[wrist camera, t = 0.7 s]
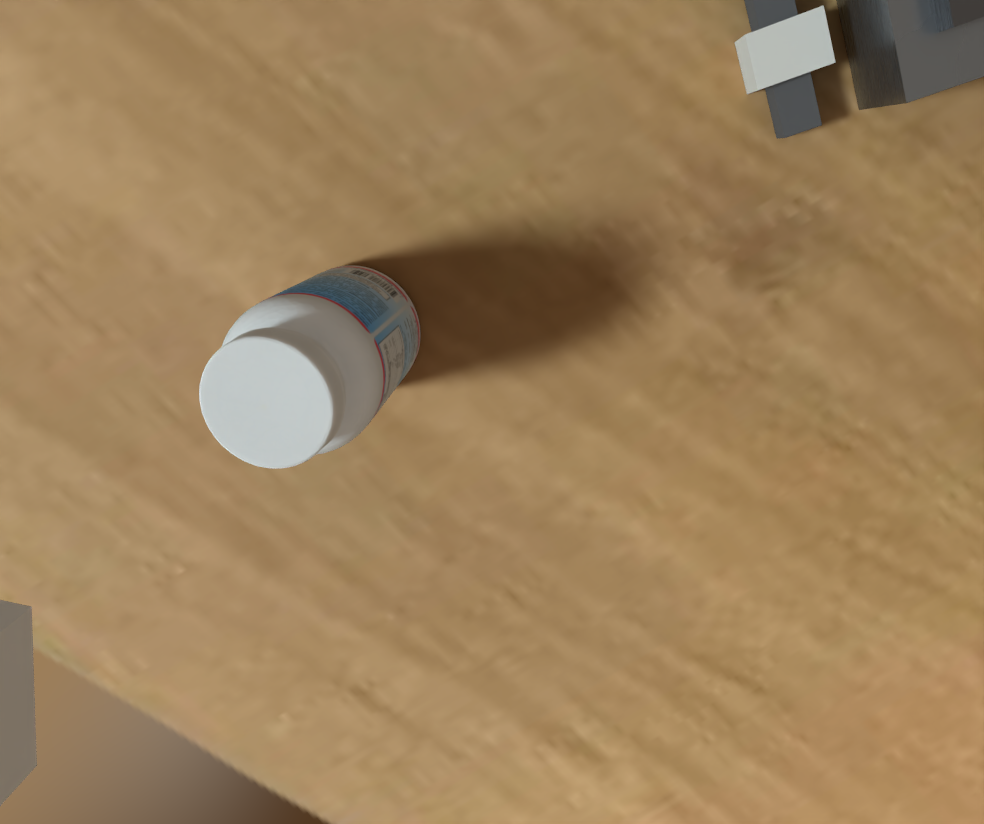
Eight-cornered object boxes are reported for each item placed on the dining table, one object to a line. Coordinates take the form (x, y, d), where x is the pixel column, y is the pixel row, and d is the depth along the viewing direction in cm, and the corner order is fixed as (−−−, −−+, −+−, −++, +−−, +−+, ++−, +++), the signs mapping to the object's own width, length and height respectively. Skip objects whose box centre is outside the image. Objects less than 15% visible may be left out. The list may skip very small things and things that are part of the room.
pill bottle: (269, 309, 37) (139, 374, 26) (373, 237, 35) (279, 275, 25) (345, 416, 38) (250, 519, 27) (449, 351, 36) (391, 433, 26)
